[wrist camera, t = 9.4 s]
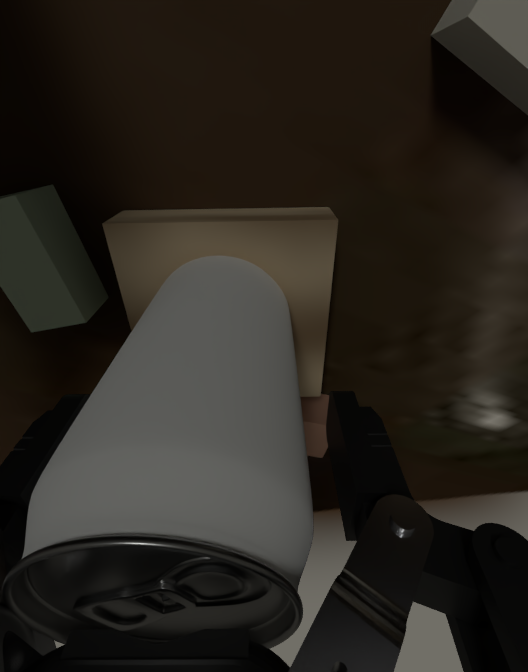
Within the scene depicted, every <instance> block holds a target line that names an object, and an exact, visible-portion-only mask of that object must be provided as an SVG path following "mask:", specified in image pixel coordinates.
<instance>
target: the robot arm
mask: <svg viewBox="0 0 528 672" xmlns="http://www.w3.org/2000/svg"><path fill="white" fill-rule="evenodd" d="M90 396H91V395H90V394H72V395H65V396H63V397H62V398H61V400H60V401H59V402H58V404H57V405H56V407H55V408H54V409H53V411H47V412H46V413H45V414H43V415H42V416H41V417H40V418H38V419H37V420H36V421H34V422H33V423H32V425H31V426H30V427H29V429H28V430H27V431H26V433H25V434H24V435H23V438H22V439H20V441H19V442H18V443H17V444H16V446H15V447H14V451H11V452H10V454H9V455H8V456H7V458H6V459H5V460H4V462H3V463H2V464H1V466H0V672H394V668H395V665H396V662H397V659H398V656H399V653H400V650H401V646H402V643H403V639H404V636H405V632H406V622H407V618H408V615H409V612H410V609H411V606H412V603H413V602H416V603H419V604H421V605H424V606H427V607H429V608H432V609H434V610H437V611H440V612H442V613H445V614H446V617H447V620H448V623H449V626H450V629H451V633H452V636H453V639H454V642H455V645H456V648H457V652H458V655H459V658H460V661H461V664H462V668H463V671H464V672H528V541H527V540H526V539H525V538H524V537H523V536H521V535H520V534H519V533H517V532H516V531H514V530H512V529H510V528H508V527H506V526H503V525H500V524H495V523H485V524H482V525H480V526H478V527H477V529H475V531H472V530H469V529H465V528H462V527H459V526H455V525H452V524H449V523H445V522H443V521H440V520H438V519H436V518H434V517H432V516H431V515H429V514H428V513H426V511H425V510H424V509H423V508H422V507H421V506H420V505H419V504H418V503H417V502H415V500H414V499H413V497H412V496H411V493H410V491H409V489H408V486H407V484H406V481H405V478H404V476H403V473H402V471H401V468H400V466H399V463H398V460H397V458H396V455H395V453H394V450H393V447H391V442H390V440H389V437H388V436H387V432H386V429H385V427H384V424H383V422H382V419H381V418H380V417H379V416H378V414H377V413H376V412H375V411H374V410H373V409H372V408H371V407H359V405H358V402H357V399H356V396H355V393H354V392H353V391H331V392H330V395H329V403H328V411H327V420H326V436H327V443H328V448H329V453H330V459H331V464H332V469H333V474H334V479H335V485H336V490H337V495H338V500H339V505H340V511H341V516H342V521H343V526H344V531H345V537H346V541H355V540H356V541H357V543H356V545H355V546H354V549H353V550H352V552H351V555H350V557H349V559H348V561H347V563H346V565H345V567H344V569H343V570H342V572H341V574H340V575H338V576H337V578H336V579H335V581H334V583H333V584H332V586H331V588H330V590H329V592H328V594H327V596H326V598H325V600H324V602H323V604H322V606H321V608H320V610H319V612H318V614H317V616H316V618H315V620H314V622H313V624H312V626H311V628H310V630H309V632H308V634H307V636H306V638H305V640H304V642H303V644H302V646H301V648H300V650H299V652H298V654H297V656H296V658H295V660H294V662H293V664H292V666H291V667H289V666H288V665H287V664H286V663H285V662H284V661H283V660H282V659H281V658H280V657H279V656H278V655H276V654H275V653H274V652H273V651H271V650H270V649H268V648H266V647H265V646H263V645H261V644H259V643H256V642H254V641H251V639H250V632H249V629H204V630H201V631H198V632H195V633H192V634H189V635H186V636H183V637H180V638H177V639H174V640H171V641H168V642H165V643H162V644H151V643H149V642H146V641H144V640H141V639H138V638H136V637H133V636H130V635H128V634H125V633H122V632H120V631H117V630H114V629H112V630H71V631H70V634H69V636H68V639H67V641H66V644H65V645H63V646H61V647H59V648H56V645H55V642H54V640H52V639H50V638H48V637H46V636H44V635H41V634H40V633H38V632H36V631H34V630H32V629H31V628H29V627H28V626H27V625H26V624H25V623H24V622H23V621H22V620H21V619H20V618H18V617H17V616H16V615H15V614H14V613H13V612H12V611H11V610H10V609H9V608H8V607H7V606H6V604H5V602H4V600H3V596H2V586H3V582H4V580H5V577H6V576H7V574H8V572H9V571H10V570H11V569H12V567H13V566H14V565H15V564H16V563H18V562H19V561H20V560H21V559H22V556H23V553H24V546H25V536H26V525H27V515H28V508H29V503H30V499H31V495H32V492H33V490H34V488H35V486H36V484H37V482H38V480H39V478H40V476H41V474H42V472H43V471H44V469H45V467H46V466H47V464H48V462H49V461H50V459H51V457H52V456H53V454H54V452H55V451H56V449H57V448H58V446H59V444H60V443H61V441H62V440H63V438H64V436H65V435H66V433H67V432H68V430H69V429H70V427H71V425H72V424H73V422H74V421H75V419H76V417H77V416H78V414H79V413H80V411H81V410H82V408H83V406H84V405H85V403H86V402H87V400H88V399H89V397H90Z"/></svg>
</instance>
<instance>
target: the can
mask: <svg viewBox="0 0 528 672" xmlns="http://www.w3.org/2000/svg"><path fill="white" fill-rule="evenodd" d="M312 539H313V507H312V495H311V485H310V476H309V467H308V458H307V450H306V441H305V433H304V424H303V415H302V407H301V399H300V390H299V382H298V374H297V366H296V358H295V350H294V341H293V334H292V326H291V318H290V312H289V306H288V303H287V300H286V297H285V295H284V293H283V292H282V290H281V288H280V287H279V286H278V284H277V283H276V282H275V281H274V280H273V279H272V278H271V277H270V276H269V275H268V274H267V273H266V272H265V271H263V270H262V269H261V268H259V267H258V266H256V265H254V264H252V263H250V262H248V261H245V260H243V259H239V258H236V257H230V256H206V257H201V258H198V259H195V260H192V261H189V262H187V263H185V264H184V265H182V266H180V267H179V268H178V269H176V270H175V271H174V272H173V273H172V274H171V275H170V276H169V277H168V278H167V279H166V281H165V282H164V283H163V285H162V286H161V288H160V289H159V291H158V292H157V294H156V295H155V297H154V298H153V300H152V301H151V303H150V304H149V306H148V307H147V309H146V310H145V312H144V313H143V315H142V316H141V318H140V319H139V321H138V323H137V324H136V326H135V327H134V329H133V330H132V332H131V333H130V335H129V336H128V338H127V340H126V341H125V343H124V344H123V346H122V347H121V349H120V350H119V352H118V353H117V355H116V357H115V358H114V360H113V361H112V363H111V364H110V366H109V367H108V369H107V371H106V372H105V374H104V375H103V377H102V378H101V380H100V381H99V383H98V385H97V386H96V388H95V389H94V391H93V392H92V394H91V396H90V397H89V399H88V400H87V402H86V403H85V405H84V406H83V408H82V410H81V411H80V413H79V414H78V416H77V417H76V419H75V421H74V422H73V424H72V425H71V427H70V429H69V430H68V432H67V433H66V435H65V436H64V438H63V440H62V441H61V443H60V444H59V446H58V448H57V449H56V451H55V452H54V454H53V456H52V457H51V459H50V461H49V462H48V464H47V466H46V467H45V469H44V471H43V472H42V474H41V476H40V478H39V480H38V482H37V484H36V486H35V488H34V490H33V492H32V495H31V499H30V503H29V508H28V515H27V525H26V536H25V546H24V553H23V556H22V559H21V560H20V561H19V562H18V563H16V564H15V565H14V566H13V567H12V569H11V570H10V571H9V572H8V574H7V576H6V577H5V580H4V582H3V586H2V596H3V600H4V602H5V604H6V606H7V607H8V608H9V609H10V610H11V611H12V612H13V613H14V614H15V615H16V616H17V617H18V618H20V619H21V620H22V621H23V622H24V623H25V624H26V625H27V626H28V627H29V628H31V629H32V630H34V631H36V632H38V633H40V634H41V635H44V636H46V637H48V638H50V639H52V640H55V641H57V642H60V643H63V644H66V641H67V639H68V636H69V634H70V631H71V630H112V629H114V630H117V631H120V632H122V633H125V634H128V635H130V636H133V637H136V638H138V639H141V640H144V641H146V642H149V643H151V644H162V643H165V642H168V641H171V640H174V639H177V638H180V637H183V636H186V635H189V634H192V633H195V632H198V631H201V630H204V629H249V632H250V639H251V641H254V642H256V643H259V644H261V645H263V646H265V647H266V648H268V649H270V648H272V647H274V646H276V645H278V644H280V643H282V642H283V641H285V640H286V639H288V638H289V637H290V636H291V635H292V634H293V633H294V632H295V631H296V630H297V629H298V627H299V625H300V623H301V620H302V617H303V607H302V602H301V599H300V597H299V594H298V593H297V591H298V585H299V582H300V578H301V575H302V572H303V569H304V567H305V564H306V561H307V558H308V555H309V551H310V548H311V544H312Z"/></svg>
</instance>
